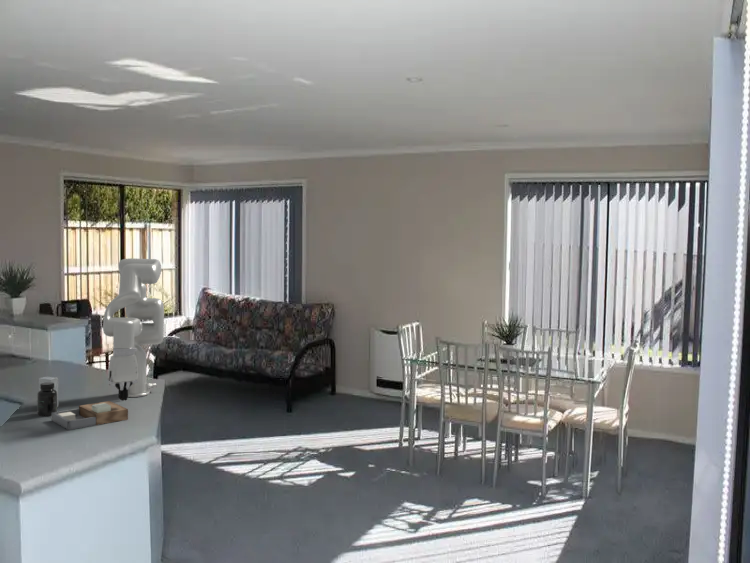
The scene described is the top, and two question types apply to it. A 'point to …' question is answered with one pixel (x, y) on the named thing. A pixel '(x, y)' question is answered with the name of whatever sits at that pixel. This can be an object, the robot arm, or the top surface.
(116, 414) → the board
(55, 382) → the skincare box
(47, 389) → the supplement bottle
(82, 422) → the box
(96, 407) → the tile sage
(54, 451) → the top surface
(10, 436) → the top surface
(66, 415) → the tile cream
